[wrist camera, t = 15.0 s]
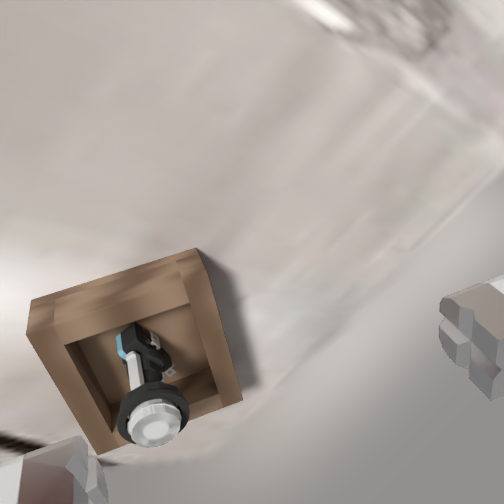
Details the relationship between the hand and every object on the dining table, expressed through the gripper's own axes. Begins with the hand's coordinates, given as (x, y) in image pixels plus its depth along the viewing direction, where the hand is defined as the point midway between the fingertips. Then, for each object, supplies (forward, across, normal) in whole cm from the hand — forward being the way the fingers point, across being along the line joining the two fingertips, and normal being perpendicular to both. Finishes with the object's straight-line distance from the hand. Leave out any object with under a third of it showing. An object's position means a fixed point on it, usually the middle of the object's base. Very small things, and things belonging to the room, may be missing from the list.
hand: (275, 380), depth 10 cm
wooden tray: (+28, +7, +20) cm, 35 cm away
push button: (+27, +6, +21) cm, 35 cm away
